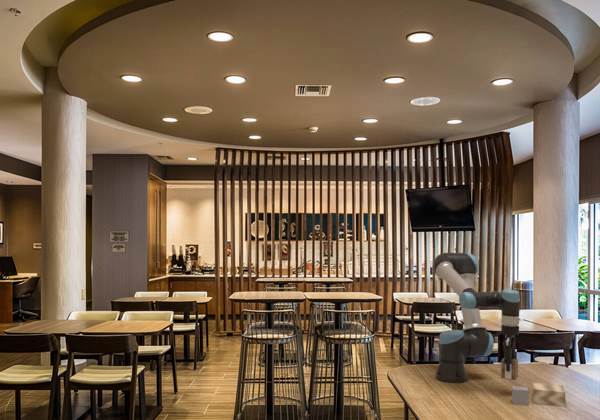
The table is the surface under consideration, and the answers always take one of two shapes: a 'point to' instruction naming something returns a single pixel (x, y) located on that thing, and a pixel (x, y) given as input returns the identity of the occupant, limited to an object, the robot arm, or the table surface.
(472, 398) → the table surface
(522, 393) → the slate cube
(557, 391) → the birch block
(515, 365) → the walnut block
